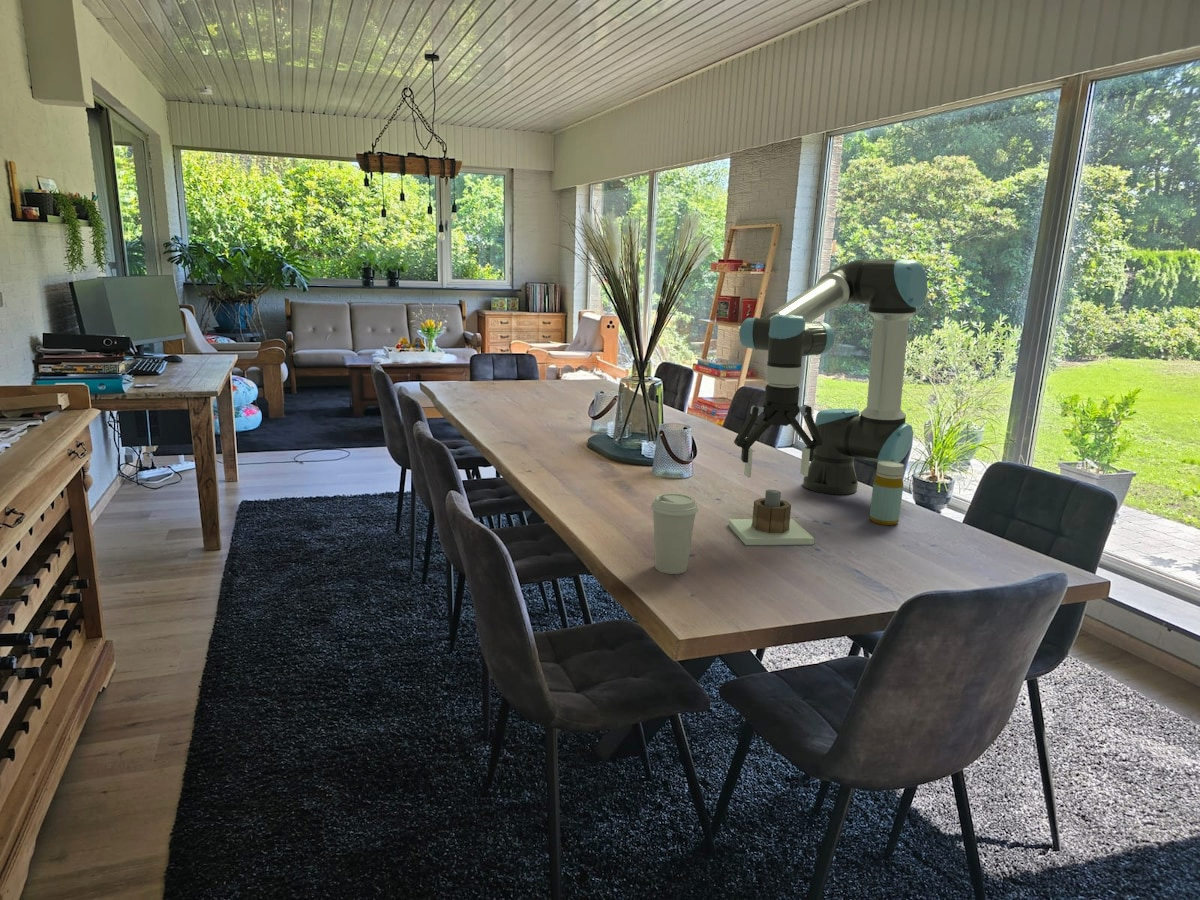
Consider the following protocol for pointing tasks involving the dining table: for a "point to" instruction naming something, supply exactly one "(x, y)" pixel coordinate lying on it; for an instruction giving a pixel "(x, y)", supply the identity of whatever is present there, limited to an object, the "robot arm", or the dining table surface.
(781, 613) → the dining table surface
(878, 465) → the bottle
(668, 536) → the coffee cup
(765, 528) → the collar
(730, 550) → the dining table surface
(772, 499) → the post stand
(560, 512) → the dining table surface
